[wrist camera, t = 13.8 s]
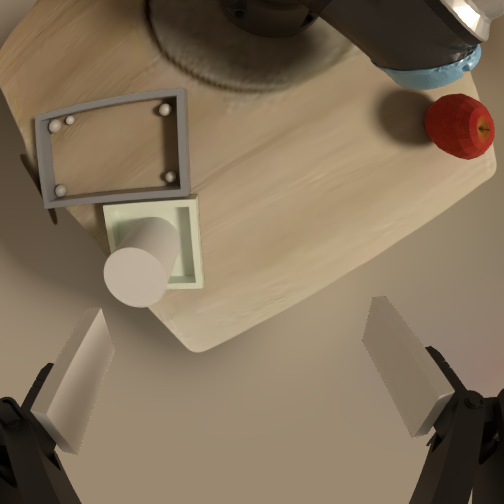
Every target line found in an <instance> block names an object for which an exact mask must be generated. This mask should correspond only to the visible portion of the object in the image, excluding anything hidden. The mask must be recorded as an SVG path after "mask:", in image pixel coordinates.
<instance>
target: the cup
mask: <svg viewBox="0 0 504 504" xmlns="http://www.w3.org/2000/svg"><path fill="white" fill-rule="evenodd" d="M180 244H181V243H180V236H179V233H178V231H177V230H176V228H175V227H174V226H173V225H172V224H171V223H170V222H169V221H167V220H165V219H163V218H160V217H147V218H144V219H142V220H140V221H139V222H138V223H137V224H136V225H135V226H134V227H133V228H132V230H131V231H130V232H129V233H128V234H127V236H126V237H125V238H124V239H123V240H122V242H121V243H120V244H119V245H118V247H117V248H116V249H115V250H114V251H113V253H112V254H111V255H110V256H109V258H108V259H107V261H106V263H105V267H104V279H105V282H106V285H107V287H108V289H109V290H110V292H111V293H112V294H113V295H114V296H115V297H116V298H117V299H118V300H120V301H121V302H123V303H125V304H127V305H130V306H134V307H147V306H150V305H153V304H155V303H156V302H158V301H159V300H160V299H161V298H162V296H163V295H164V293H165V291H166V288H167V285H168V282H169V279H170V276H171V273H172V270H173V267H174V264H175V261H176V258H177V256H178V253H179V250H180Z"/></svg>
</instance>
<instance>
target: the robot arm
mask: <svg viewBox="0 0 504 504" xmlns="http://www.w3.org/2000/svg"><path fill="white" fill-rule="evenodd" d="M220 4H221V7H222V9H223V11H224V13H225V14H226V16H227V17H228V18H229V19H230V20H231V21H232V22H233V23H234V24H235V25H237V26H238V27H240V28H241V29H243V30H245V31H247V32H250V33H253V34H256V35H259V36H265V37H286V36H291V35H294V34H297V33H300V32H302V31H304V30H305V29H307V28H308V27H310V26H311V25H312V24H313V23H314V22H315V21H316V20H317V18H318V17H321V18H322V19H323V20H325V21H326V22H327V23H329V24H330V25H331V26H332V27H334V28H335V29H336V30H338V31H339V32H340V33H341V34H343V35H344V36H345V37H346V38H347V39H349V40H350V41H351V42H352V43H353V44H354V45H356V46H357V47H358V48H359V49H360V50H361V51H362V52H364V53H365V54H366V55H367V56H368V57H369V58H370V59H371V62H372V63H373V64H374V65H375V66H376V67H377V68H379V69H381V70H383V71H384V72H385V73H386V74H387V75H388V76H390V77H391V78H392V79H393V80H394V81H395V82H396V83H397V84H399V85H401V86H403V87H405V88H408V89H412V90H429V89H434V88H438V87H441V86H444V85H447V84H449V83H452V82H454V81H456V80H458V79H459V78H461V77H462V76H463V72H465V71H471V70H472V69H473V68H474V66H476V64H477V63H478V61H479V59H480V56H481V48H480V43H482V42H484V41H486V40H488V36H489V26H490V22H491V20H492V19H494V18H496V17H499V16H501V15H503V14H504V0H220ZM362 341H363V343H364V345H365V347H366V349H367V350H368V352H369V354H370V356H371V358H372V360H373V361H374V364H375V366H376V367H377V369H378V371H379V373H380V375H381V377H382V379H383V381H384V383H385V384H386V387H387V389H388V391H389V392H390V395H391V397H392V398H393V400H394V402H395V404H396V406H397V408H398V411H399V413H400V415H401V417H402V419H403V420H404V422H405V425H406V427H407V429H408V431H409V433H410V435H411V437H412V439H414V438H417V437H420V436H423V435H425V434H427V433H428V432H429V431H430V429H431V428H432V426H434V428H435V430H436V432H435V434H434V435H433V436H432V438H431V439H430V440H429V442H428V443H427V445H426V446H429V445H430V443H431V446H430V449H429V452H428V455H427V458H426V461H425V464H424V467H423V469H422V472H421V475H420V478H419V480H418V483H417V485H416V488H415V490H414V493H413V495H412V497H411V500H410V502H409V504H468V501H469V498H470V494H471V490H472V504H504V389H502V390H501V391H500V393H499V394H498V396H497V397H489V398H483V396H482V395H480V394H479V393H478V392H475V391H471V390H468V391H467V389H466V388H465V387H464V385H463V384H462V382H461V381H460V380H459V378H458V377H457V375H456V374H455V373H454V371H453V370H452V369H451V368H450V366H449V364H448V363H447V362H446V361H445V359H444V358H443V356H442V355H441V354H440V352H438V351H437V350H436V349H434V348H433V347H431V346H429V347H424V346H423V344H422V343H421V342H420V341H419V339H418V338H417V336H416V335H415V334H414V333H413V331H412V330H411V328H410V327H409V326H408V324H407V323H406V322H405V321H404V319H403V318H402V316H401V315H400V314H399V313H398V311H397V310H396V309H395V308H394V306H393V305H392V304H391V302H390V301H389V300H388V299H387V297H386V296H383V297H373V298H372V302H371V307H370V311H369V315H368V319H367V324H366V328H365V332H364V336H363V340H362ZM114 352H115V349H114V346H113V344H112V341H111V338H110V335H109V332H108V329H107V325H106V322H105V319H104V316H103V313H102V309H101V308H87V310H86V311H85V313H84V315H83V316H82V318H81V320H80V321H79V323H78V325H77V326H76V328H75V329H74V331H73V333H72V334H71V336H70V338H69V339H68V341H67V343H66V344H65V346H64V348H63V349H62V351H61V353H60V355H59V356H58V358H57V360H56V362H55V364H53V363H48V364H47V365H46V366H45V367H44V368H42V369H41V371H40V372H39V374H38V376H37V378H36V380H35V381H34V383H33V385H32V386H33V387H31V389H30V390H29V393H28V394H27V396H26V398H25V400H24V402H23V404H22V406H21V408H20V407H19V405H18V404H17V402H16V401H15V400H14V399H13V398H11V397H3V398H1V399H0V504H82V503H81V502H80V500H79V498H78V496H77V494H76V493H75V491H74V489H73V487H72V485H71V483H70V481H69V479H68V477H67V475H66V473H65V471H64V469H63V466H62V464H61V462H60V460H59V457H58V455H57V453H56V452H55V450H54V449H55V446H56V444H57V445H58V446H59V448H60V449H61V450H62V451H64V452H68V453H72V454H76V455H78V453H79V450H80V447H81V444H82V440H83V437H84V434H85V431H86V428H87V425H88V422H89V419H90V416H91V413H92V410H93V408H94V405H95V402H96V399H97V396H98V393H99V391H100V388H101V386H102V383H103V380H104V378H105V375H106V373H107V370H108V367H109V365H110V362H111V360H112V357H113V355H114ZM472 487H473V488H472Z"/></svg>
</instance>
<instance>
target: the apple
mask: <svg viewBox="0 0 504 504" xmlns="http://www.w3.org/2000/svg"><path fill="white" fill-rule="evenodd" d="M424 126H425V129H426V133H427V135H428V136H429V137H430V139H431V140H432V141H433V142H434V143H435V144H436V145H437V146H438V147H439V148H440V149H442V150H443V151H445V152H447V153H449V154H451V155H454V156H456V157H458V158H462V159H467V160H469V159H473V158H476V157H479V156H480V155H482V154H484V153H485V151H486V150H487V149H488V148H489V147H490V145H491V144H492V142H493V139H494V123H493V120H492V118H491V116H490V114H489V112H488V110H487V108H486V107H485V106H484V105H483V104H481V103H480V102H479V101H477V100H475V99H473V98H471V97H469V96H467V95H464V94H451V95H446V96H442V97H441V98H439V99H438V100H437V101H435V102H434V103H433V104H432V105H431V106H430V107H429V108H428V109H427V111H426V114H425V122H424Z"/></svg>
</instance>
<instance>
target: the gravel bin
mask: <svg viewBox="0 0 504 504" xmlns="http://www.w3.org/2000/svg"><path fill="white" fill-rule="evenodd" d="M168 98H177V128H178V152H179V170H180V185H178V186H163V187H150V188H138V189H126V190H116V191H106V192H97V193H88V194H80V195H72V196H64V195H65V194H66V191H67V189H66V187H65V186H64V185H62V184H61V185H58V186H57V187H56V186H55V178H54V170H53V161H52V150H51V138H50V131H51V132H52V133H56V132H58V131H59V130H60V129H61V126H62V124H61V121H60V120H58V119H56V118H59V117H63V116H68V115H72V114H76V113H81V112H85V111H90V110H95V109H100V108H105V107H111V106H116V105H122V104H129V103H135V102H143V101H150V100H158V99H168ZM171 111H172V107H171V106H170V105H169V104H162V105H161V106H160V108H159V112H160V114H161V115H163V116H167V115H169V114H170V113H171ZM52 119H54V120H52ZM50 120H52V121H51V122H50ZM73 122H74V117H73V116H68V117H67V118H66V123H67V124H69V125H70V124H72V123H73ZM35 133H36V147H37V158H38V167H39V175H40V183H41V190H42V196H43V202H44V207H45V209H48V208H56V207H65V206H74V205H83V204H92V203H102V202H113V201H125V200H137V199H150V198H165V197H182V196H189V194H190V192H191V183H190V165H189V142H188V109H187V90H186V89H185V88H174V89H165V90H156V91H148V92H141V93H134V94H128V95H122V96H116V97H111V98H105V99H100V100H95V101H91V102H86V103H82V104H77V105H73V106H69V107H65V108H61V109H58V110H54V111H50V112H47V113H43V114H40V115H37V116H35ZM165 178H166V180H167V181H168V182H174V181H175V180H176V174H175V173H174V172H172V171H170V172H168V173H167V174H166V176H165ZM57 196H58V197H57ZM63 196H64V197H63Z"/></svg>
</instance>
